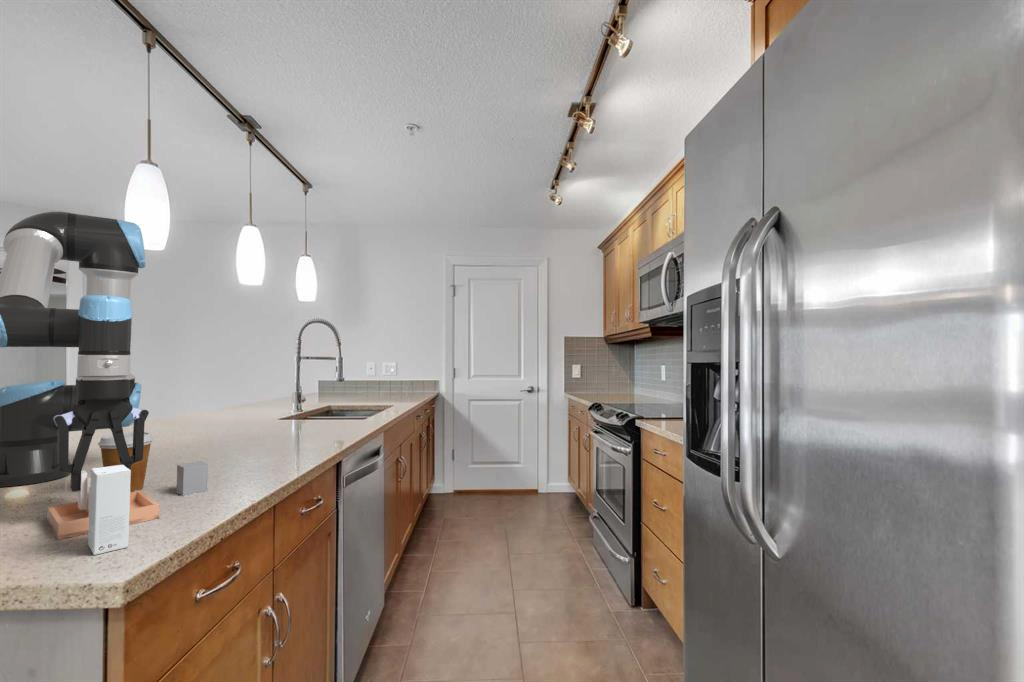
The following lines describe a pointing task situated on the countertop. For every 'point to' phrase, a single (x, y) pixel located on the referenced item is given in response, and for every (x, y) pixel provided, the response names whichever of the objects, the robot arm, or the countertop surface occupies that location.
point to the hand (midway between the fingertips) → (100, 504)
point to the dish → (76, 522)
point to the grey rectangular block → (192, 478)
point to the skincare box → (109, 508)
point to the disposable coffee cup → (137, 468)
